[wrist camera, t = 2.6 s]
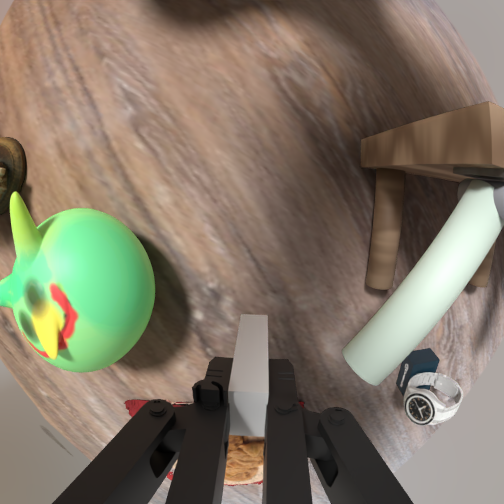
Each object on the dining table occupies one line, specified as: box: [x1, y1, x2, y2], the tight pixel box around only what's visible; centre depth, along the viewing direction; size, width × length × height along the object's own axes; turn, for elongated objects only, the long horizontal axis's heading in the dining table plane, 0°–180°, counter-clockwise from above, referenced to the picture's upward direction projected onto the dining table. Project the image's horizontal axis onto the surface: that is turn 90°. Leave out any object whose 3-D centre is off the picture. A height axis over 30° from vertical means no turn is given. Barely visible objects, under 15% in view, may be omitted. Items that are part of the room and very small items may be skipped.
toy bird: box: [0, 192, 155, 372], centre depth 25 cm, size 18×17×15 cm
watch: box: [396, 348, 463, 426], centre depth 29 cm, size 6×8×11 cm
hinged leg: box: [342, 178, 504, 386], centre depth 13 cm, size 13×3×4 cm, turn 144°
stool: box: [360, 101, 504, 290], centre depth 20 cm, size 15×20×20 cm
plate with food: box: [124, 400, 304, 486], centre depth 39 cm, size 25×26×4 cm
